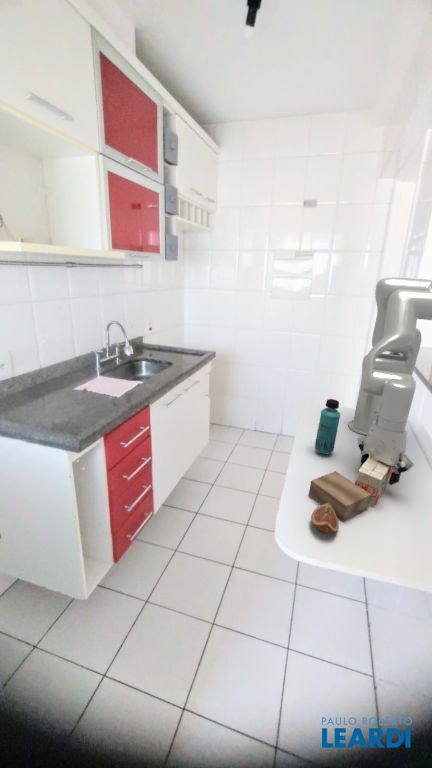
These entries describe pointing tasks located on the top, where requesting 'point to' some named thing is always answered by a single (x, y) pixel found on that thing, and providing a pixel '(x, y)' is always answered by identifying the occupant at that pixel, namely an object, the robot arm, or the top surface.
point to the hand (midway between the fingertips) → (378, 474)
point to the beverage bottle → (328, 427)
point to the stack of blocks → (374, 477)
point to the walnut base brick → (340, 495)
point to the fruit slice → (325, 518)
